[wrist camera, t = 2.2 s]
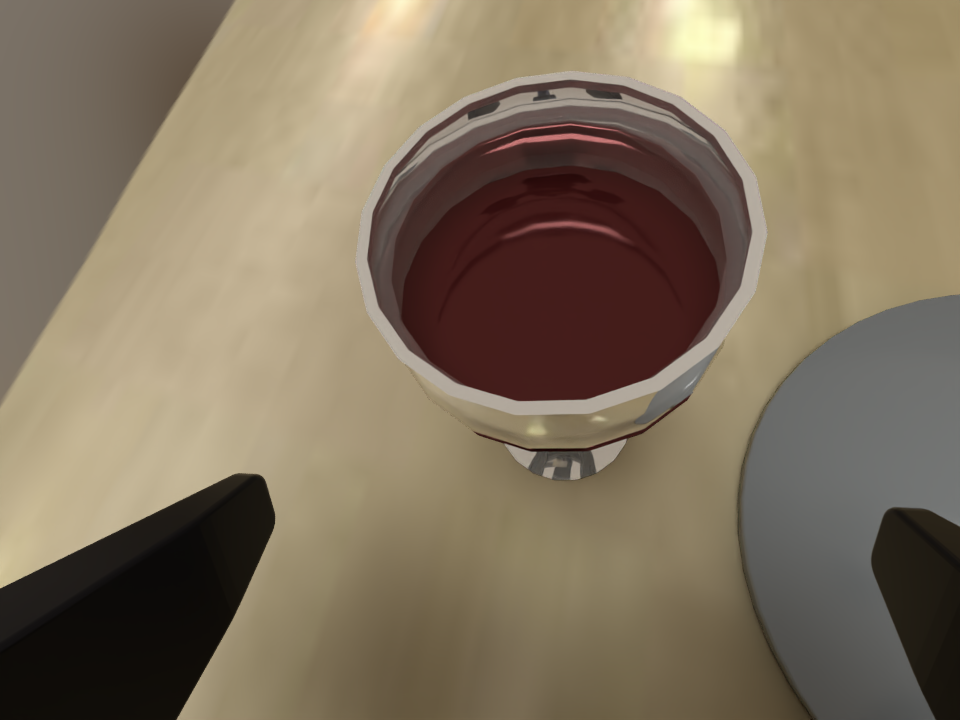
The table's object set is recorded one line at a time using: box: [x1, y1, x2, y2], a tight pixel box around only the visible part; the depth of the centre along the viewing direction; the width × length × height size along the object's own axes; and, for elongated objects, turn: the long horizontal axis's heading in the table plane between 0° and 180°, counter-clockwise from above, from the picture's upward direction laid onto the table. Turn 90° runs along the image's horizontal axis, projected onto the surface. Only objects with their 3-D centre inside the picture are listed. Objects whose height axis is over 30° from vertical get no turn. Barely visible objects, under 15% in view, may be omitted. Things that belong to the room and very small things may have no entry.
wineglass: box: [355, 71, 768, 480], centre depth 14 cm, size 7×7×12 cm
